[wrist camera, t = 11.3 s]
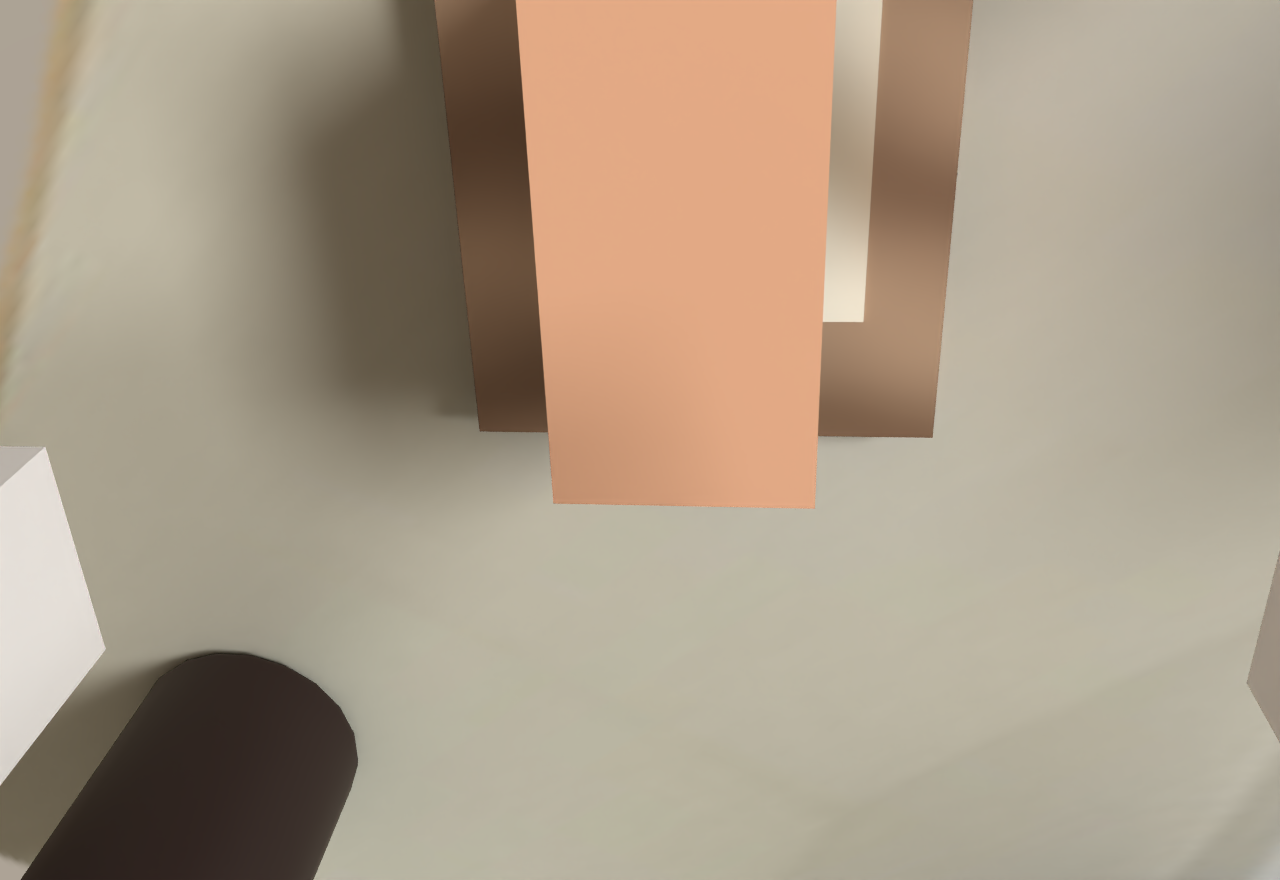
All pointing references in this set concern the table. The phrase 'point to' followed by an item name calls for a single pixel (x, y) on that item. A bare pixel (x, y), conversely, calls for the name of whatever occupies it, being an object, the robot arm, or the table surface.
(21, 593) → the robot arm
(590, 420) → the block
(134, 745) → the bottle
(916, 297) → the pin board
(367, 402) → the table surface
